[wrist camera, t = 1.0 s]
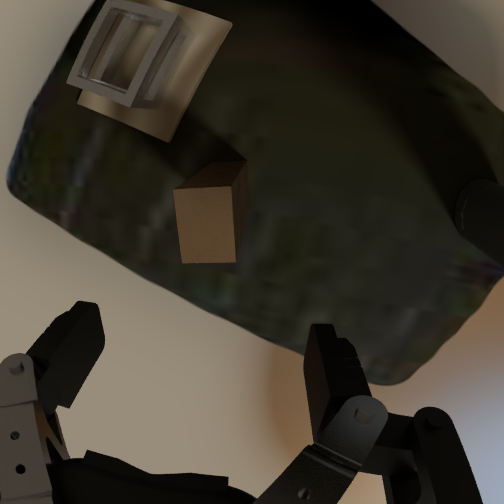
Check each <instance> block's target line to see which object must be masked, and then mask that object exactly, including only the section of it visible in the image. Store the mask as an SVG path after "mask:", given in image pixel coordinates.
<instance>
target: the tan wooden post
mask: <svg viewBox="0 0 504 504" xmlns="http://www.w3.org/2000/svg"><path fill="white" fill-rule="evenodd" d="M174 200H175V209H176V218H177V226H178V234H179V242H180V249H181V257H182V263H220V262H236V260H237V256H238V252H239V248H240V243H241V239H242V235H243V231H244V227H245V223H246V218H247V214H248V210H249V187H248V166H247V161H226V162H212V163H211V164H210V165H208V166H207V167H205V168H204V169H202V170H201V171H199V172H198V173H196V174H195V175H193V176H192V177H191V178H189V179H188V180H186V181H185V182H183V183H182V184H181V185H179V186H178V187H176V188H175V189H174Z"/></svg>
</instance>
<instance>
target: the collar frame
mask: <svg viewBox="0 0 504 504" xmlns="http://www.w3.org/2000/svg"><path fill="white" fill-rule="evenodd" d="M118 14H119V15H121V16H123V17H124V18H123V20H122V21H121V23H120V25H119V27H118V29H117V31H116V32H115V34H114V36H113V38H112V40H111V42H110V44H109V46H108V48H107V50H106V52H105V54H104V56H103V58H102V60H101V63H100V65H99V67H98V69H97V71H96V74H95V76H94V78H91V77H87V76H88V73H89V71H90V69H91V67H92V64H93V62H94V60H95V58H96V56H97V54H98V52H99V50H100V48H101V46H102V44H103V42H104V40H105V38H106V36H107V34H108V32H109V30H110V28H111V26H112V24H113V23H114V21H115V19H116V17H117V15H118ZM140 26H144V27H147V28H150V29H154V30H157V31H158V32H157V33H156V35H155V37H154V39H153V41H152V42H151V44H150V46H149V48H148V50H147V52H146V54H145V56H144V58H143V59H142V61H141V63H140V65H139V67H138V69H137V71H136V74H135V76H134V78H133V80H132V82H131V84H130V86H129V88H125V87H123V86H120V85H117V84H115V83H112V81H113V79H114V76H115V74H116V72H117V70H118V68H119V66H120V64H121V62H122V60H123V58H124V56H125V54H126V52H127V50H128V48H129V46H130V44H131V42H132V40H133V38H134V36H135V34H136V33H137V31H138V29H139V27H140ZM174 37H176V39H175V40H174V42H173V44H172V46H171V48H170V50H169V51H168V53H167V55H166V57H165V59H164V61H163V63H162V65H161V66H160V68H159V70H158V72H157V74H156V76H155V78H154V80H153V82H152V84H151V86H150V89H149V91H148V93H147V95H146V96H145V92H146V90H147V88H148V86H149V84H150V82H151V80H152V78H153V76H154V74H155V72H156V70H157V68H158V66H159V64H160V62H161V60H162V58H163V57H164V55H165V53H166V51H167V49H168V47H169V45H170V44H171V42H172V40H173V38H174ZM196 37H197V35H196V34H195V33H194V32H193V30H192V29H191V28H190V27H189V26H188V25H187V24H186V22H185V21H184V20H183V19H182V18H181V17H180V16H179V15H178V14H175V13H172V12H169V11H165V10H162V9H158V8H154V7H151V6H147V5H143V4H139V3H135V2H130V1H126V0H106V2H105V4H104V6H103V7H102V9H101V11H100V13H99V14H98V16H97V18H96V20H95V22H94V24H93V26H92V28H91V29H90V31H89V33H88V35H87V37H86V39H85V41H84V44H83V46H82V48H81V50H80V52H79V54H78V56H77V59H76V61H75V63H74V65H73V68H72V70H71V72H70V75H69V77H68V80H67V82H66V83H68V84H70V85H73V86H76V87H79V88H81V89H84V90H87V91H89V92H92V93H95V94H97V95H100V96H102V97H105V98H107V99H110V100H112V101H115V102H117V103H120V104H122V105H125V106H127V107H130V108H141V109H153V110H158V109H159V107H160V105H161V103H162V101H163V99H164V97H165V95H166V93H167V91H168V89H169V87H170V85H171V83H172V81H173V79H174V77H175V75H176V73H177V71H178V69H179V67H180V65H181V64H182V62H183V60H184V58H185V56H186V54H187V53H188V51H189V49H190V47H191V45H192V44H193V42H194V40H195V38H196Z"/></svg>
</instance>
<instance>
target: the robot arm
mask: <svg viewBox="0 0 504 504" xmlns="http://www.w3.org/2000/svg"><path fill="white" fill-rule="evenodd" d="M455 224H456V227H457V230H458V231H459V233H460V235H461V236H462V237H463V238H465V239H466V240H467V241H469V242H470V243H471V244H473V245H474V246H475V247H477V248H478V249H479V250H481V251H482V252H483V253H485V254H486V255H487V256H488V257H490V258H491V259H492V260H494V261H495V262H496V263H497V264H499V265H500V266H501V267H502V268H504V186H502V185H500V184H497V183H495V182H492V181H489V180H487V179H475V180H473V181H471V182H470V183H468V184H467V185H466V186H465V187H464V188H463V190H462V191H461V193H460V195H459V197H458V199H457V202H456V206H455ZM104 345H105V335H104V330H103V326H102V321H101V316H100V311H99V307H98V305H97V304H96V303H92V302H85V301H77V302H76V303H75V305H74V306H73V307H72V308H71V309H70V310H69V311H66V312H65V313H63V314H61V315H59V316H58V317H57V318H55V319H54V321H53V322H52V323H51V324H50V327H47V329H46V330H45V331H44V333H42V334H41V336H40V337H39V338H38V339H37V340H36V342H35V343H34V344H33V345H32V346H31V348H30V349H29V350H28V351H27V352H26V354H22V353H17V354H13V355H10V356H8V357H7V358H5V359H4V360H3V361H2V363H1V364H0V504H337V503H338V501H339V500H340V499H341V497H342V496H343V494H344V493H345V491H346V490H347V488H348V487H349V485H350V484H351V482H352V481H353V479H354V478H355V476H356V475H357V473H358V472H364V473H370V474H376V475H382V478H383V484H384V490H385V495H386V501H387V504H483V502H482V499H481V496H480V493H479V490H478V487H477V484H476V481H475V478H474V475H473V472H472V470H471V467H470V464H469V461H468V459H467V456H466V454H465V451H464V448H463V446H462V444H461V441H460V438H459V436H458V434H457V431H456V429H455V426H454V424H453V421H452V419H451V418H450V417H449V415H448V414H447V413H446V412H444V411H443V410H441V409H439V408H436V407H424V408H422V409H420V410H418V411H417V412H416V414H415V415H414V417H409V416H403V415H397V414H392V413H389V412H387V409H386V407H385V406H384V405H383V403H381V402H380V401H379V400H377V399H375V398H373V397H372V395H371V392H370V389H369V386H368V383H367V380H366V378H365V375H364V372H363V369H362V367H361V364H360V361H359V359H358V355H357V353H356V350H355V347H354V346H353V345H352V344H351V343H350V342H349V341H348V340H347V339H346V338H337V335H336V332H335V329H334V326H333V325H332V324H312V325H311V327H310V331H309V336H308V341H307V346H306V351H305V356H304V365H303V367H304V368H303V369H304V378H305V385H306V391H307V398H308V405H309V412H310V420H311V426H312V434H313V442H314V444H313V445H308V446H306V447H305V448H304V449H303V450H302V451H301V453H300V454H299V455H298V456H297V457H296V458H295V460H293V462H292V463H291V464H290V465H289V466H288V467H287V468H286V469H285V470H284V472H283V473H282V474H281V475H280V476H279V477H278V478H277V479H276V480H275V481H274V482H273V483H272V484H271V485H270V486H269V488H267V489H266V491H265V492H263V494H261V495H260V497H259V498H255V497H254V496H252V495H250V494H248V493H246V492H245V491H242V490H240V489H237V488H234V487H231V486H228V477H225V476H213V475H205V474H197V473H178V474H150V473H147V472H145V471H143V470H141V469H138V468H136V467H134V466H132V465H130V464H128V463H126V462H124V461H122V460H120V459H118V458H114V457H111V456H107V455H103V454H100V453H97V452H93V451H90V450H87V451H86V453H85V456H84V458H72V459H71V458H70V456H69V454H68V452H67V448H66V445H65V442H64V438H63V434H62V431H61V427H60V423H59V419H58V415H57V413H56V411H55V410H56V408H57V406H58V405H59V406H63V407H66V408H70V406H71V405H72V403H73V401H74V399H75V397H76V396H77V394H78V392H79V390H80V389H81V387H82V385H83V383H84V382H85V380H86V378H87V376H88V374H89V373H90V371H91V370H92V368H93V366H94V364H95V363H96V361H97V359H98V358H99V356H100V354H101V353H102V351H103V349H104Z"/></svg>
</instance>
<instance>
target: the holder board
mask: <svg viewBox="0 0 504 504" xmlns="http://www.w3.org/2000/svg"><path fill="white" fill-rule="evenodd" d="M127 1H130V2H135V3H139V4H143V5H147V6H151V7H154V8H158V9H162V10H165V11H169V12H172V13H175V14H178V15H179V16H180V17H181V18H182V19H183V20H184V21H185V22H186V24H187V25H188V26H189V27H190V28H191V29H192V30H193V32H194V33H195V34H196V35H197V37H196V38H195V40H194V42H193V44H192V45H191V47H190V49H189V51H188V53H187V54H186V56H185V58H184V60H183V62H182V64H181V65H180V67H179V69H178V71H177V73H176V75H175V77H174V79H173V81H172V83H171V85H170V87H169V89H168V91H167V93H166V95H165V97H164V99H163V101H162V103H161V105H160V107H159V109H158V110H153V109H141V108H130V107H127V106H125V105H122V104H120V103H117V102H115V101H112V100H110V99H107V98H105V97H102V96H100V95H97V94H95V93H92V92H89V91H87V90H84V89H83V90H82V93H81V95H80V98H79V100H78V103H77V104H80V105H82V106H85V107H87V108H90V109H92V110H94V111H97V112H99V113H102V114H104V115H106V116H109V117H111V118H113V119H116V120H118V121H120V122H123V123H125V124H127V125H130V126H132V127H134V128H136V129H139V130H141V131H143V132H145V133H148V134H150V135H152V136H154V137H156V138H159V139H161V140H163V141H165V142H167V143H169V142H171V140H172V138H173V136H174V133H175V131H176V129H177V127H178V125H179V123H180V121H181V119H182V117H183V115H184V113H185V110H186V108H187V106H188V104H189V102H190V100H191V99H192V97H193V95H194V93H195V91H196V89H197V87H198V85H199V83H200V81H201V79H202V77H203V76H204V74H205V72H206V70H207V68H208V66H209V65H210V63H211V61H212V59H213V58H214V56H215V54H216V52H217V51H218V49H219V47H220V45H221V44H222V42H223V40H224V39H225V37H226V35H227V34H228V32H229V30H230V29H231V27H232V23H231V22H229V21H226V20H223V19H221V18H218V17H215V16H212V15H209V14H207V13H204V12H201V11H198V10H194V9H191V8H188V7H185V6H182V5H178V4H175V3H171V2H168V1H164V0H127ZM123 18H124V17H123V16H121V15H119V16H118V17H117V19H116V21H115V23H114V25H113V26H112V28H111V30H110V32H109V34H108V36H107V38H106V40H105V42H104V44H103V46H102V48H101V50H100V52H99V54H98V56H97V58H96V60H95V62H94V65H93V67H92V69H91V71H90V73H89V76H88V77H91V78H94V76H95V74H96V71H97V69H98V67H99V65H100V63H101V60H102V58H103V56H104V54H105V52H106V50H107V48H108V46H109V44H110V42H111V40H112V38H113V36H114V34H115V32H116V31H117V29H118V27H119V25H120V23H121V21H122V20H123ZM157 32H158V31H157V30H154V29H150V28H147V27H144V26H140V27H139V29H138V31H137V33H136V34H135V36H134V38H133V40H132V42H131V44H130V46H129V48H128V50H127V52H126V54H125V56H124V58H123V60H122V62H121V64H120V66H119V68H118V70H117V72H116V74H115V76H114V79H113V81H112V83H115V84H117V85H120V86H123V87H125V88H129V86H130V84H131V82H132V80H133V78H134V76H135V74H136V71H137V69H138V67H139V65H140V63H141V61H142V59H143V58H144V56H145V54H146V52H147V50H148V48H149V46H150V44H151V42H152V41H153V39H154V37H155V35H156V33H157ZM175 39H176V37H174V38H173V40H172V42H171V44H170V45H169V47H168V49H167V51H166V53H165V55H164V57H163V58H162V60H161V62H160V64H159V66H158V68H157V70H156V72H155V74H154V76H153V78H152V80H151V82H150V84H149V86H148V88H147V90H146V92H145V96H146V95H147V93H148V91H149V89H150V86H151V84H152V82H153V80H154V78H155V76H156V74H157V72H158V70H159V68H160V66H161V65H162V63H163V61H164V59H165V57H166V55H167V53H168V51H169V50H170V48H171V46H172V44H173V42H174V40H175Z"/></svg>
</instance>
